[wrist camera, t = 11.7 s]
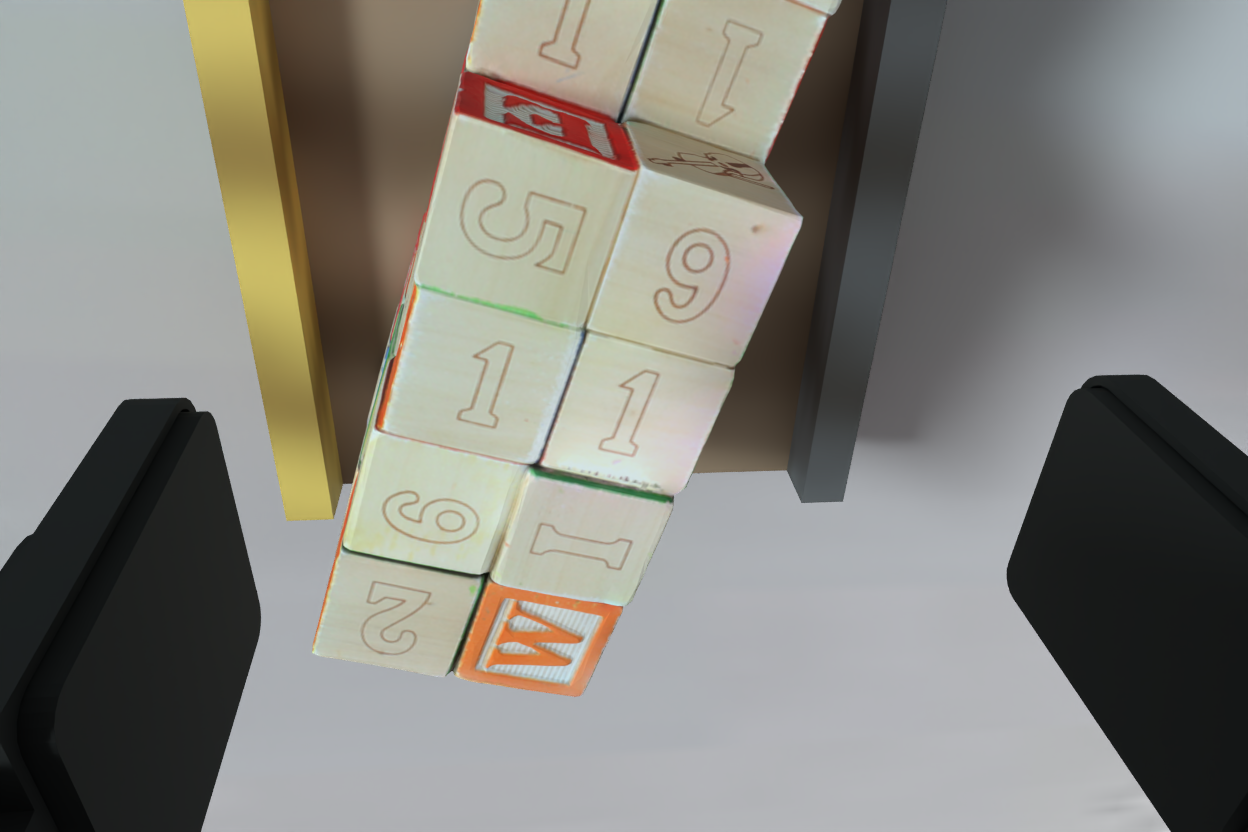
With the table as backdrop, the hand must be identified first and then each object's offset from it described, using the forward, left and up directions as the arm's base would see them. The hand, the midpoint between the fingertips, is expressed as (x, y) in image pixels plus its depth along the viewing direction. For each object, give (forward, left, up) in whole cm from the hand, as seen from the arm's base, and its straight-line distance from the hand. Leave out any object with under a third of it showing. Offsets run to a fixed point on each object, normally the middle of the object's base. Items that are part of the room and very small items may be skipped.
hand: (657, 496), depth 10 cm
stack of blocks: (0, 0, -19) cm, 19 cm away
